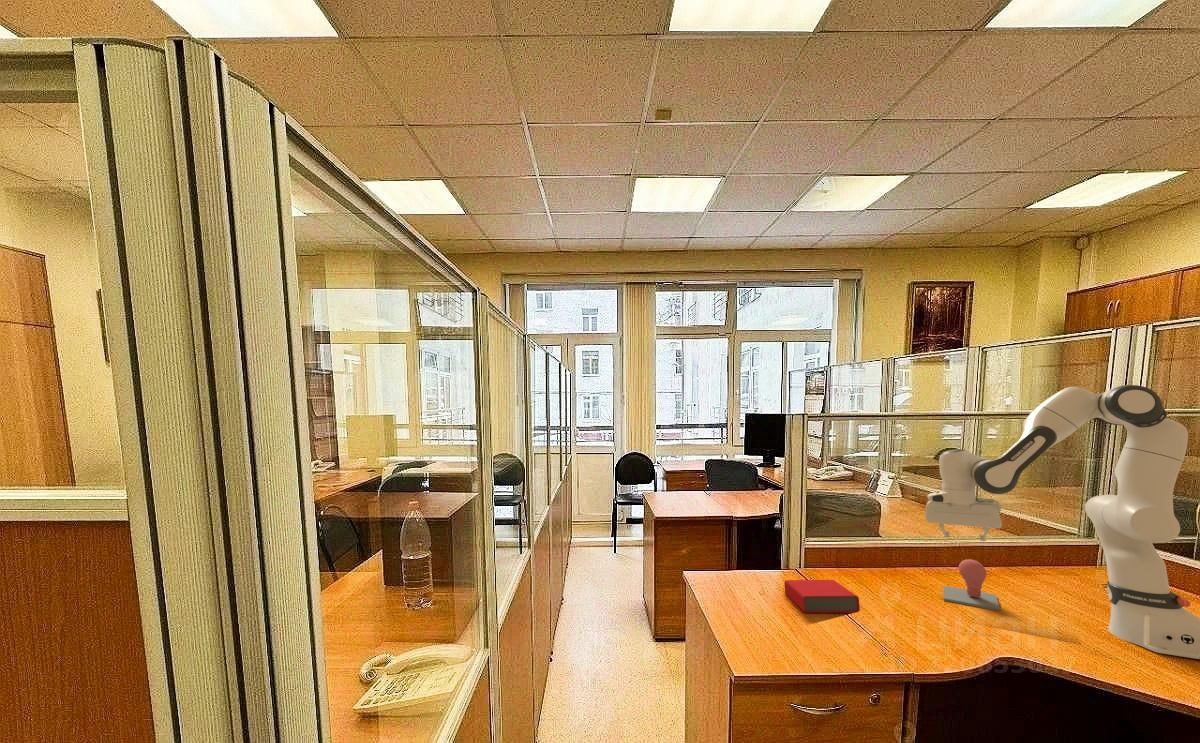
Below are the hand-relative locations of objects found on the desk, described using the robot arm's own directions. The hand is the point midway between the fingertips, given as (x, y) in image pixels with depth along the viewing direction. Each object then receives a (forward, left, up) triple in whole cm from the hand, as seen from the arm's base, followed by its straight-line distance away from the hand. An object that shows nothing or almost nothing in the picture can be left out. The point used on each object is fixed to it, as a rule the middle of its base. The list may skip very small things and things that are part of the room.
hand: (964, 538), depth 149 cm
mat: (0, 0, -20) cm, 20 cm away
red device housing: (+40, +32, -20) cm, 55 cm away
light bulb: (-1, 0, -19) cm, 19 cm away
